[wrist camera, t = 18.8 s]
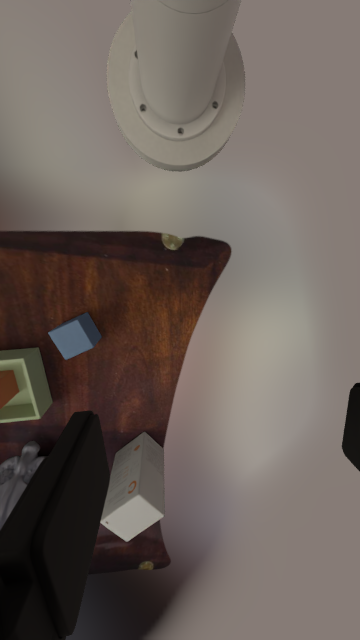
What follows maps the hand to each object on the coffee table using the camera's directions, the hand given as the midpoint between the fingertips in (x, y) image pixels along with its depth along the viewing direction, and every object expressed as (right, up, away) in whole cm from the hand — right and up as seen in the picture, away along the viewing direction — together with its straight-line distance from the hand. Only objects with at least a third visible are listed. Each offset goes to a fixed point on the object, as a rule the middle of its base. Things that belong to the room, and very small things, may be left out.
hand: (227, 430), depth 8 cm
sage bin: (-33, -7, +33) cm, 47 cm away
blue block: (-19, +2, +32) cm, 37 cm away
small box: (-10, -23, +39) cm, 47 cm away
